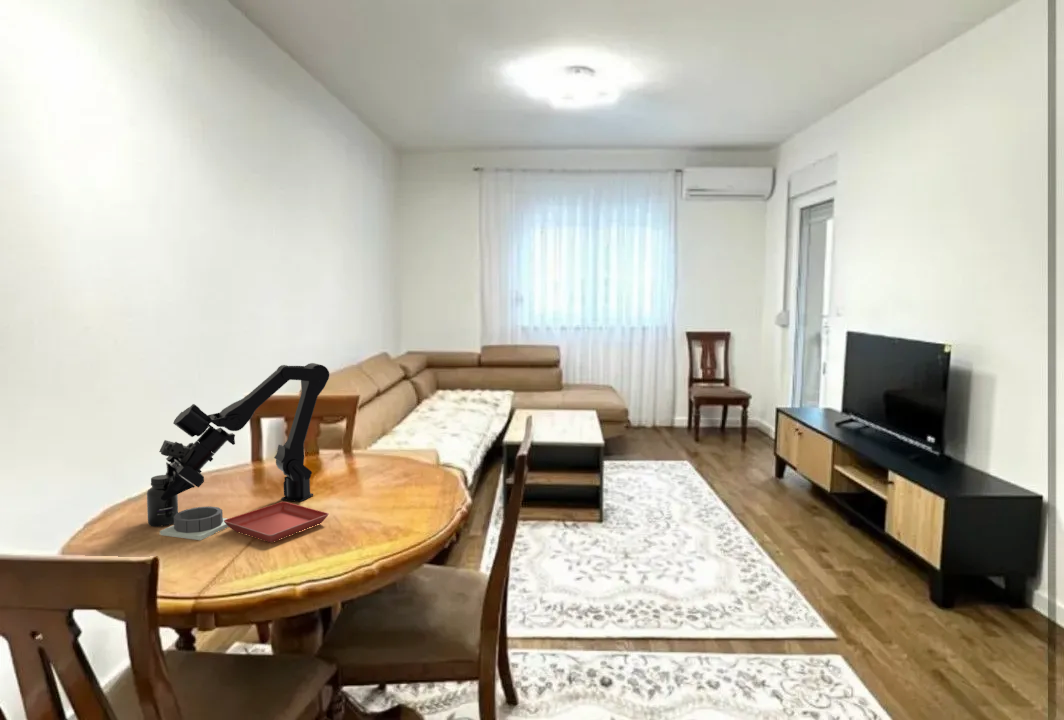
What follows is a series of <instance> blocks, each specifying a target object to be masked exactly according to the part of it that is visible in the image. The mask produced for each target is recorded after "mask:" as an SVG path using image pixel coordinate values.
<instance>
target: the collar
mask: <svg viewBox="0 0 1064 720" xmlns="http://www.w3.org/2000/svg"><path fill="white" fill-rule="evenodd" d="M223 518H224V515H223V509H222V508H221V507H218V506H197V507H191V508H188V509H187V508H186V509H184V510H181V511H178V513H176V515H175V516H174V524H173V525H174V529H175V530H176V531H177V532H182V533H195V532H203V531H207V530H211V529H214V528H216V527H218V526H220V525H221V524H222V522H223Z"/></svg>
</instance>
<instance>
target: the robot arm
mask: <svg viewBox="0 0 1064 720" xmlns="http://www.w3.org/2000/svg"><path fill="white" fill-rule="evenodd" d="M329 379H330V371H329V369H328V367H326V366H325V365H323V364H319V363H315V362H310V363H308V364H306V365H287V364H282V365H280V366H278V367H277V368H276V370H275V371H274V372H272V373H271V374H270V375H269V376H268V377H267V378H266V379H265V380H263V381H262V382H261V383H260V384H259V385H258V386H257V387H255V388H254V389H252V391H250V392H249V393H248V394H247V395H246V396H244V397H243V398H240V399H239V400H236V401H235V402H232V403H231V404H230V405H227V406H226V407H225V408H222V409H221V411H220V412H217V413H212V414H206V413H205V412H204V411H203V410H202V409H200V407H199V406H198V405H196V404H195V403H192V404H191V405H190V406H189V407H187V408H186V409H184V410H183V411H181V412H180V413H179V414H178V415H177V416H176V417H175V419H174V420H173V425H174V426H176V427H177V428H179V429H180V430H182V431H183V432H184V433H186V434H187V435H188V436H189V437H191V438H193V437H198V439H197V440H196V441H195V442H190V443H188V444H187V445H184V444H183V443H182V442H181V443H180V442H177V441H170V440H166V439H164V441H163V443H162V445H161V447H160V449H159V453H160V454H161V455H162V456H165V457H167V458H165V459H166V462H165V463H166V464H165V465H166V473H165V474H164V475H172V477H173V481H172V482H171V484H170V485H169V487H168V488H167V489H166V491H165V492H164V494H163V495H162V497H161V499H162V500H163V501H165V500H167V499H169V498H171V497H173V496H175V495H177V494H178V495H180V494H181V493H183V492H186V491H188V490H190V489H195V488H196V487H197V488H200V487H201V486H202V485H203V483H205V477H204V475H203V474H202V470H201V469H203V468H204V466H205V465H206V464H207V463H209V462H213V460H214V458H213V457H214V456H215V454H217V452H218V451H219V450H220V449H221V448H222V447H223V446H224V444H226V442H228V443H229V444H232V445H236V441H235V436H236V434H235V433H233V432H239V431H241V430H242V429H244V428H245V426H246V425H247V424H248V423H249V421H250V420H251V419H252V417H253V415H254V414H255V412H256V411H257V410H258V408H259V407H260V406H261V405H263V404H264V403H265V402H266V401H267V400H268V399H269V398H271V397H272V396H273V395H274V394H276V392H277V391H279V390H281V388H282V387H283V386H284V385H285V384H287V382H289V381H300V386H301V387H300V388H301V394H300V397H299V401H298V404H297V408H296V411H295V415H294V418H293V421H292V425H291V427H290V431H289V435H288V438H287V441H285V443H284V444H283V445H282V444H278V446H277V451H276V454H275V455H274V457H273V458H274V459H275V465H276V467H277V468H278V469H279V470H280V471H281V472H282V473H283V475H284V480H283V496H282V497H281V501H282V500H283V501H291V502H298V503H299V502H302V501H305V500H307V499H309V498H311V497H313V496H314V493H311V481H310V479H311V476H312V474H313V472H312V470H311V469H309V468H308V467H306V465H305V464H304V463H305V441H306V438H307V434H308V430H309V428H310V423H311V420H312V417H313V413H314V409H315V407H316V403H317V399H318V397H319V395H320V394H321V393H322V391H323V390H324V389H325V387H326V385H327V383H328V380H329ZM211 423H212V424H213V425H215V426H216V427H217V429H216V428H215V427H214V426H212V425H211ZM223 428H225V429H226V430H228V431H230V432H231V433H229V432H227V431H226V430H224V429H223Z"/></svg>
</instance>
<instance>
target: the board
mask: <svg viewBox="0 0 1064 720" xmlns="http://www.w3.org/2000/svg"><path fill="white" fill-rule="evenodd" d="M226 519H228V518H227V517H226V518H225V517H223V522H222V524H221V525H220V526H218V527H216V528H214V529H211V530H207V531H203V532H195V533H182V532H177V531H176V530H175V529H174V524H172V525H169V526H167V527H165V528H164V529H163V528H162V530H159V536H165V537H173V538H179V539H181V538H182V539H187V540H197V541H202V540H204V539H206V538H209V537H211V536H213V535H215V534H217V533H219V532H221V531H223V530H225V528H226V529H227V527H228V528H230V527H229V526H228V525H227V524H226V523H225V522H224V520H226ZM222 529H223V530H222ZM220 530H221V531H220ZM218 531H219V532H218ZM216 532H217V533H216ZM214 533H215V534H214Z"/></svg>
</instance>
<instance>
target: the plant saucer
mask: <svg viewBox="0 0 1064 720" xmlns="http://www.w3.org/2000/svg"><path fill="white" fill-rule="evenodd" d="M328 516H329V513H328V512H325V511H321V510H318V509H315V508H310V507H307V506H303V505H299V504H296V503H291V502H287V501H280V502H277V503H274V504H271V505H270V504H269V505H267V506H264V507H260V508H259V509H255V510H252V511H248V512H245V513H242V514H239V515H236V516H233V517H230V518H227V519H226V520H224V522H225V523H226V524H227V525H228V526H229V527H228V528H230V529H231V530H232V531H233V532H235V531H236V532H235V533H238V532H240V533H239V534H241V533H243V534H242V535H244V534H247V535H246V536H248V535H250V536H249V537H251V536H253V537H252V538H254V537H256V538H255V539H257V538H259V539H258V540H260V539H262V540H261V541H263V540H265V541H264V542H266V541H268V542H267V543H270V542H273V543H275V542H274V541H276V542H278V541H277V540H279V539H281V538H284V537H286V536H289V535H292V534H294V533H296V532H299V531H302V530H304V529H307V528H309V527H312V526H315V525H317V524H320V523H321V524H322V523H323V522H324V521H325V520H326V519H327V517H328ZM321 524H320V525H321ZM315 527H316V526H315ZM302 532H303V531H302ZM294 535H295V534H294ZM292 536H293V535H292ZM289 537H290V536H289ZM286 538H287V537H286ZM284 539H285V538H284ZM281 540H282V539H281ZM279 541H280V540H279Z"/></svg>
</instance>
